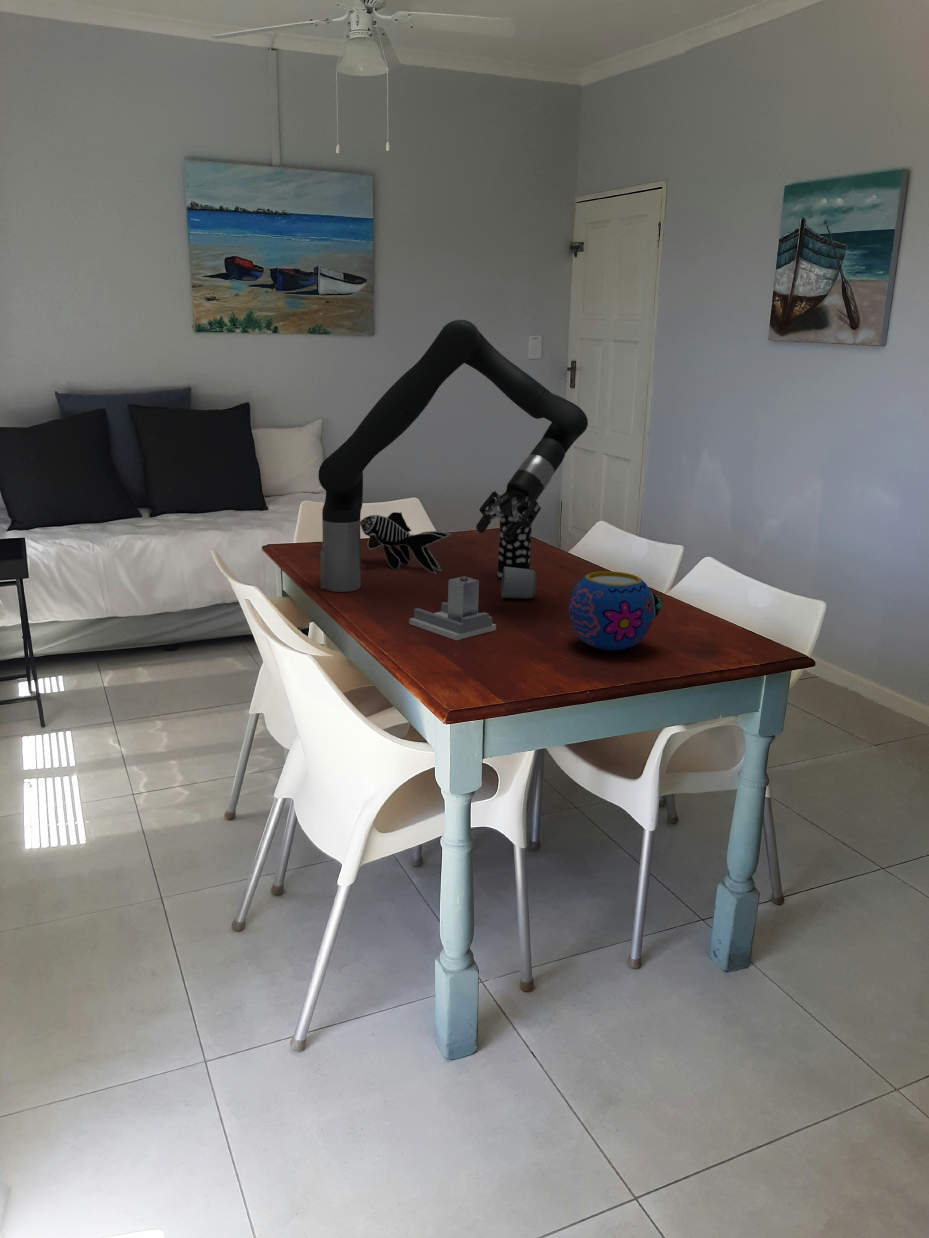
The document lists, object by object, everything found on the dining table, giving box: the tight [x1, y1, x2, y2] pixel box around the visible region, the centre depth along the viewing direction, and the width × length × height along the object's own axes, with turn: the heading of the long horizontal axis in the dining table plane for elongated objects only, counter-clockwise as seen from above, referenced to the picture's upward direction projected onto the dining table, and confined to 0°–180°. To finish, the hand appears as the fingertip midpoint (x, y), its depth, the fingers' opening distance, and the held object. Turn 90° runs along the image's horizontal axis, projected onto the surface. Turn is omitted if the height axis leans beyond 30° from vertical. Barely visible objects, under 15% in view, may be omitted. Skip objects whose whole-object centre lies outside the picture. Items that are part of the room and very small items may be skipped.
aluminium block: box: [447, 575, 480, 622], centre depth 209 cm, size 5×5×10 cm
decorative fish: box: [360, 511, 453, 575], centre depth 261 cm, size 16×26×15 cm, turn 65°
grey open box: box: [408, 601, 497, 641], centre depth 212 cm, size 15×12×4 cm
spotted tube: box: [496, 509, 533, 582], centre depth 252 cm, size 8×8×20 cm
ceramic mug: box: [500, 567, 538, 600], centre depth 238 cm, size 11×8×8 cm
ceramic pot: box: [568, 570, 662, 652], centre depth 200 cm, size 18×18×15 cm
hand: (492, 534), depth 215 cm, fingers open, 8 cm apart
